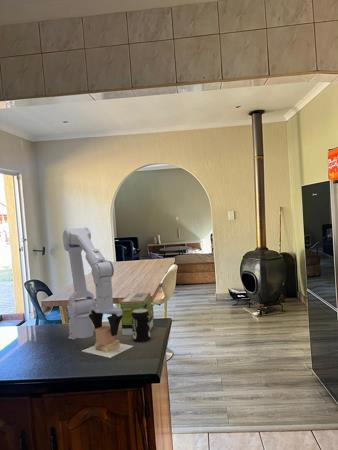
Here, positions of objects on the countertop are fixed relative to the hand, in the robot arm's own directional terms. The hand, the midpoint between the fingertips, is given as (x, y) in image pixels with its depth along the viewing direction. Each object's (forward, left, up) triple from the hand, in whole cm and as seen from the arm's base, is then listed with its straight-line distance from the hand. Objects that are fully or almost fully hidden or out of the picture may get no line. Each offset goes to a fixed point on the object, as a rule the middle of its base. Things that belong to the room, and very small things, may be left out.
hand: (106, 333), depth 130 cm
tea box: (-4, +22, -6) cm, 24 cm away
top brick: (0, -1, -3) cm, 3 cm away
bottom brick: (0, 0, -5) cm, 5 cm away
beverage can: (+5, +13, -6) cm, 15 cm away
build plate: (0, 0, -6) cm, 6 cm away
